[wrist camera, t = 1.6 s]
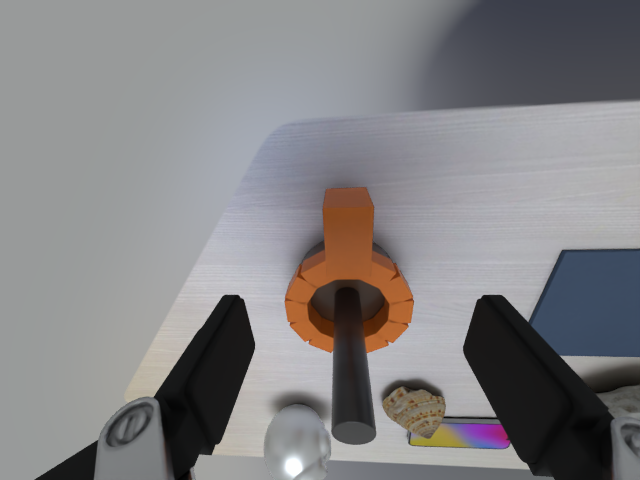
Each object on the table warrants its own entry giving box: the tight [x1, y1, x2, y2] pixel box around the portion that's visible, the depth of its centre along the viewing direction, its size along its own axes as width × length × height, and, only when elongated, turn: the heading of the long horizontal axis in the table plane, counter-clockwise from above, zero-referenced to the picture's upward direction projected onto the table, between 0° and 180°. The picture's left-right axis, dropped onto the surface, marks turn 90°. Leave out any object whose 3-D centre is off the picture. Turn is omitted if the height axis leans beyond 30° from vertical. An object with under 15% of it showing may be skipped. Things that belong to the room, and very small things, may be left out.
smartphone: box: [408, 418, 511, 449], centre depth 37 cm, size 7×1×15 cm
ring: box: [285, 187, 414, 353], centre depth 19 cm, size 16×11×4 cm
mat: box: [529, 249, 640, 357], centre depth 25 cm, size 14×14×1 cm
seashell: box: [383, 386, 446, 439], centre depth 33 cm, size 8×6×8 cm
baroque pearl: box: [264, 404, 331, 480], centre depth 33 cm, size 9×10×10 cm
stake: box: [301, 241, 390, 445], centre depth 19 cm, size 10×10×14 cm
